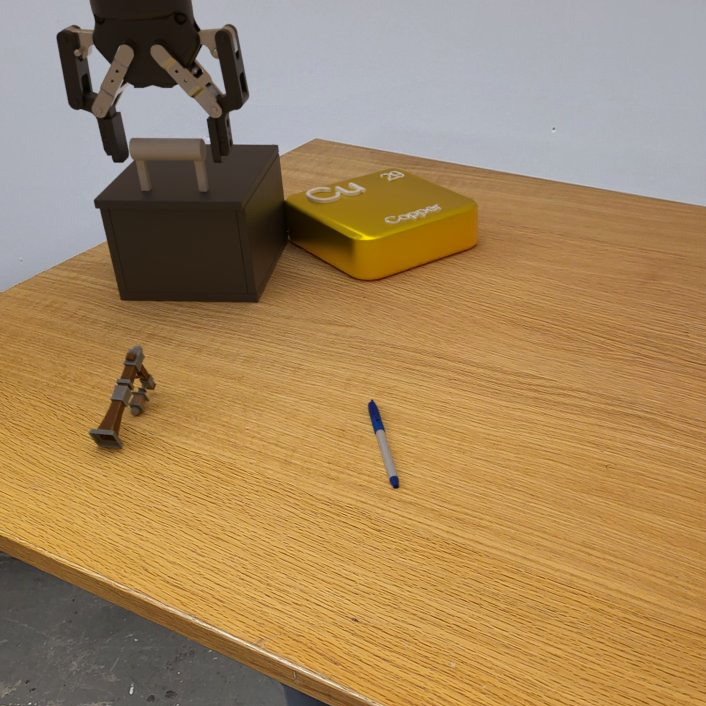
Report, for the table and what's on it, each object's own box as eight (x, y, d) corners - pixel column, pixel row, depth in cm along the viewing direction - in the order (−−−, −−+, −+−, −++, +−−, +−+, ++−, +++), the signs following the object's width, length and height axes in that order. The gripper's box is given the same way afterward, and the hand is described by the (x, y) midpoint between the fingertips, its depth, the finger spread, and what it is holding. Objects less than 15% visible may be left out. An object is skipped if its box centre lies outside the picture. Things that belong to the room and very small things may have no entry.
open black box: (257, 302, 84) (244, 208, 79) (120, 300, 85) (98, 206, 79) (289, 238, 96) (279, 153, 91) (168, 237, 96) (152, 152, 91)
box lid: (242, 210, 78) (233, 148, 75) (95, 209, 79) (80, 147, 76) (279, 152, 91) (273, 97, 88) (152, 151, 91) (141, 96, 88)
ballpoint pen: (364, 408, 70) (363, 397, 69) (376, 407, 70) (375, 395, 69) (392, 491, 62) (391, 479, 61) (405, 490, 62) (405, 477, 61)
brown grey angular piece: (167, 376, 72) (146, 340, 68) (134, 466, 68) (111, 433, 64) (144, 374, 72) (123, 338, 68) (111, 464, 68) (86, 431, 64)
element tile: (364, 285, 87) (361, 236, 84) (281, 237, 96) (275, 192, 93) (486, 244, 94) (487, 198, 91) (398, 203, 104) (396, 160, 101)
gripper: (237, -64, 72) (263, 146, 81) (56, -63, 73) (103, 146, 82) (212, -50, 66) (244, 175, 75) (15, -49, 67) (71, 175, 76)
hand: (170, 160), depth 79 cm, fingers open, 8 cm apart
